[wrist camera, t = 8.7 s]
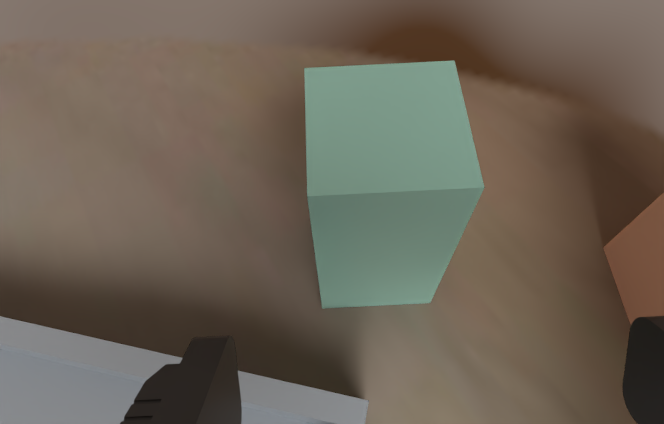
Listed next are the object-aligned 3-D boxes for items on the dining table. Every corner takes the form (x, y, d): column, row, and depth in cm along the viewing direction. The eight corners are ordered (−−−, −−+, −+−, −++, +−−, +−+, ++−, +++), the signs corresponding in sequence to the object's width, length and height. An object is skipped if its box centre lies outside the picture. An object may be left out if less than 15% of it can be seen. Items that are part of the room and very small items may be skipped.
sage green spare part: (322, 308, 22) (307, 196, 14) (318, 214, 25) (304, 68, 16) (430, 302, 22) (484, 187, 14) (416, 209, 25) (454, 60, 16)
